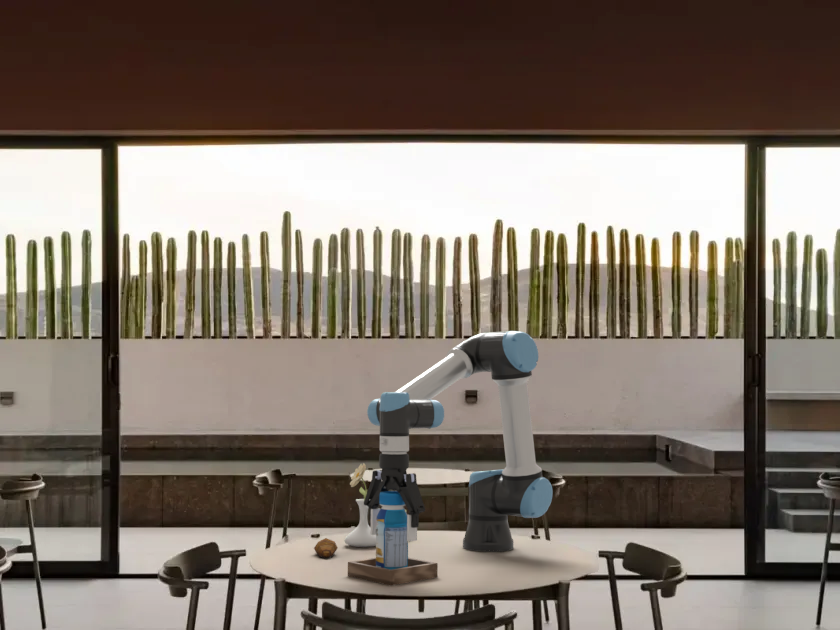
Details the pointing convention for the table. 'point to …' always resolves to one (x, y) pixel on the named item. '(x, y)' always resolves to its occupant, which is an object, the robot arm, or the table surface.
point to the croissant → (325, 548)
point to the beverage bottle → (391, 532)
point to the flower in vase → (361, 516)
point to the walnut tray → (392, 571)
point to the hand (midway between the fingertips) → (393, 537)
